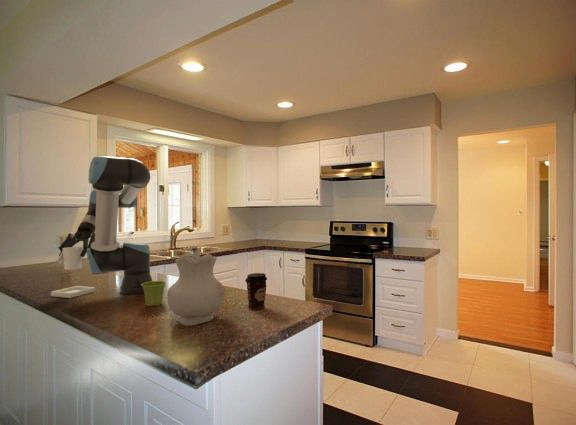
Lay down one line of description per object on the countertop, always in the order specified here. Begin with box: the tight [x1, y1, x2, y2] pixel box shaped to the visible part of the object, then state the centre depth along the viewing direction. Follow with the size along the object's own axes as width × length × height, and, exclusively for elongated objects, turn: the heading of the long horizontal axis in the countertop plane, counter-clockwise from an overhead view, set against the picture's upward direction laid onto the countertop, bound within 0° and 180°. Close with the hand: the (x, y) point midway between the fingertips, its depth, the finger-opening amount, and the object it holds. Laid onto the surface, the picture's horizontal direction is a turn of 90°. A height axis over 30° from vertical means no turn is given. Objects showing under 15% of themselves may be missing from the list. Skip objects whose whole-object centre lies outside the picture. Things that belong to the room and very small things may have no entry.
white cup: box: [63, 246, 83, 271], centre depth 157 cm, size 8×8×10 cm
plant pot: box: [141, 280, 167, 307], centre depth 136 cm, size 9×9×9 cm
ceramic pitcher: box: [166, 246, 226, 327], centre depth 117 cm, size 22×20×25 cm
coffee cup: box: [244, 272, 268, 311], centre depth 128 cm, size 9×8×13 cm
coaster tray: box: [50, 285, 96, 299], centre depth 157 cm, size 13×13×2 cm
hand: (68, 262), depth 154 cm, fingers closed on white cup, 8 cm apart
